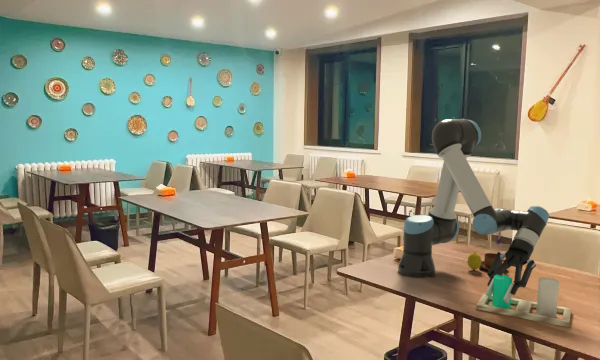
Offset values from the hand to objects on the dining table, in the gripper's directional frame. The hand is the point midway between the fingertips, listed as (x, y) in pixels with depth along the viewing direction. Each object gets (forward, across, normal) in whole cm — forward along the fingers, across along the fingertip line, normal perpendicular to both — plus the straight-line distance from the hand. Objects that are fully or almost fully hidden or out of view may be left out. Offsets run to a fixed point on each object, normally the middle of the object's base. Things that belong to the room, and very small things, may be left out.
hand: (496, 298), depth 172 cm
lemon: (-21, +29, -27) cm, 45 cm away
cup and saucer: (-27, +25, -33) cm, 49 cm away
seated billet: (-3, -13, -9) cm, 16 cm away
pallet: (-2, -7, -7) cm, 10 cm away
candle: (0, 0, -6) cm, 6 cm away
